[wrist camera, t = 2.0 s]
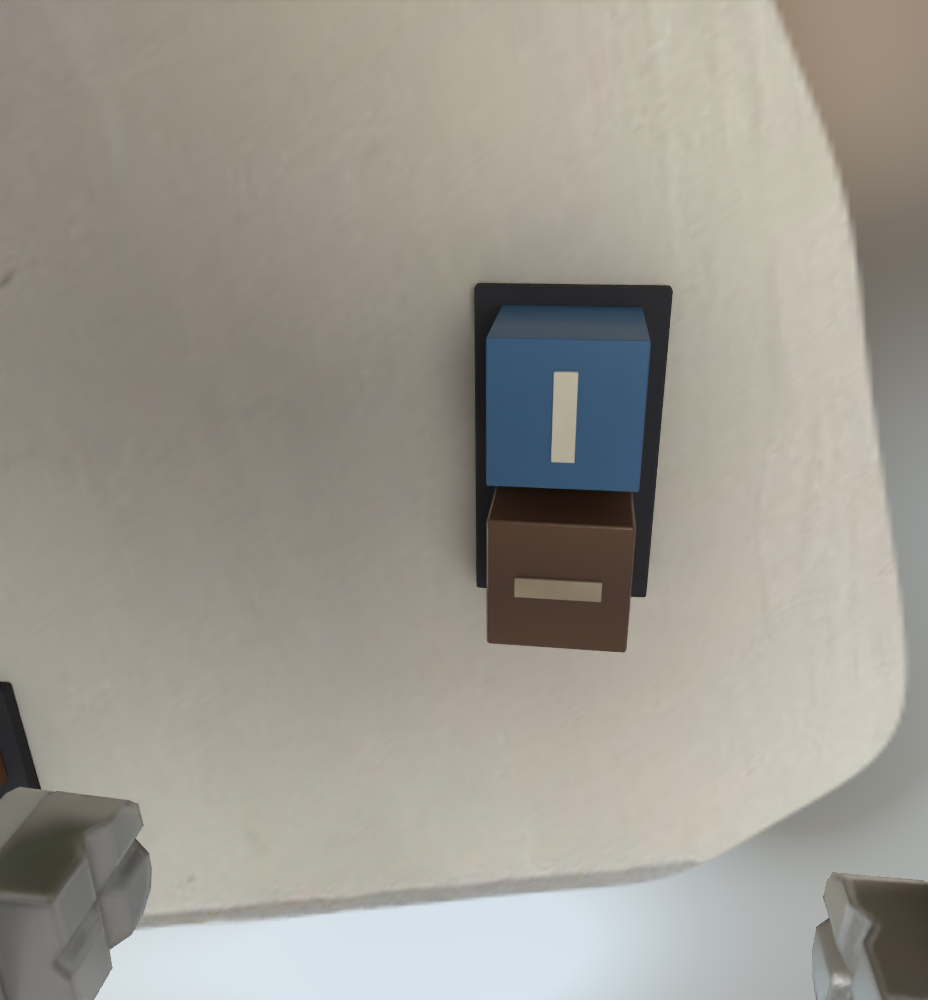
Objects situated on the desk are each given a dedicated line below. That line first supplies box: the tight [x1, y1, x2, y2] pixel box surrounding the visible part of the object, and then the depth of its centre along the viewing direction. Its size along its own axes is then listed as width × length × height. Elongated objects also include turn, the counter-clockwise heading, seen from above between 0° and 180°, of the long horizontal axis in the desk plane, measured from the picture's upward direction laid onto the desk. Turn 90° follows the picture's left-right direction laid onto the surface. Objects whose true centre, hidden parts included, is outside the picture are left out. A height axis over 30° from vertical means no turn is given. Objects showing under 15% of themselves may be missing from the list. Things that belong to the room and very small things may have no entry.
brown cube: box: [487, 486, 636, 652], centre depth 25 cm, size 4×4×4 cm
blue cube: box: [486, 305, 651, 492], centre depth 23 cm, size 4×4×4 cm
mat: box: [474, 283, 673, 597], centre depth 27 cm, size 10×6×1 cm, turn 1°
